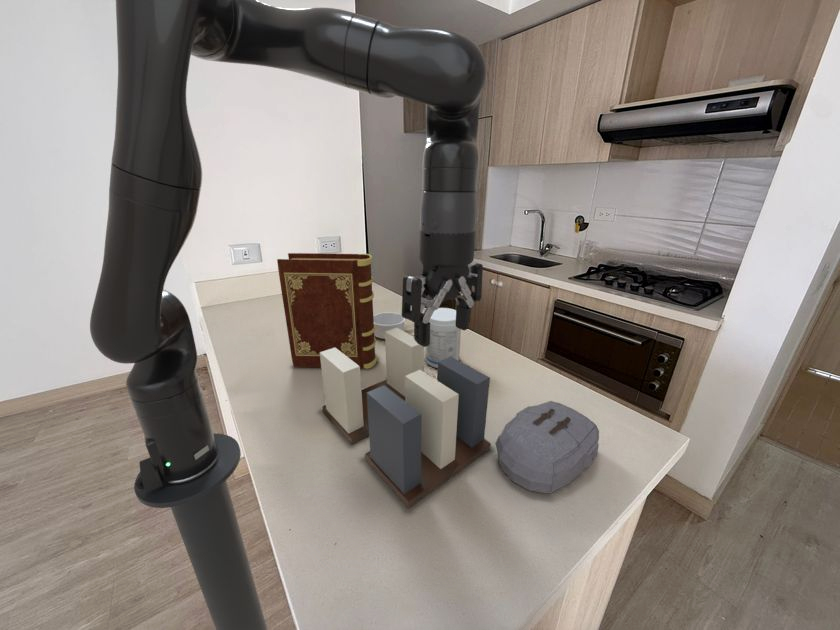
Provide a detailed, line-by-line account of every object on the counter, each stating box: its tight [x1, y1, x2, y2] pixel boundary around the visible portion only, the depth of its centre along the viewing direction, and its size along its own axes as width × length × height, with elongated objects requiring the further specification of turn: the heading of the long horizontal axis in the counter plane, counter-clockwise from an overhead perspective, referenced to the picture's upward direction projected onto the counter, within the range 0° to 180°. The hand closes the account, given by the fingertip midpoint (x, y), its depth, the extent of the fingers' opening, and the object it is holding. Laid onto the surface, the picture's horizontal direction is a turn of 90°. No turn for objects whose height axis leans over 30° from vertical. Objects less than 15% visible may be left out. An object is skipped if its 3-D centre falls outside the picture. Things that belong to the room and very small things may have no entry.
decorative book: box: [276, 252, 378, 370], centre depth 91 cm, size 22×8×30 cm, turn 89°
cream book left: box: [320, 348, 364, 434], centre depth 69 cm, size 4×10×14 cm, turn 40°
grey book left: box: [367, 385, 421, 494], centre depth 56 cm, size 4×10×14 cm, turn 40°
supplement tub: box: [425, 307, 462, 369], centre depth 94 cm, size 10×10×15 cm
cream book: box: [405, 370, 459, 469], centre depth 61 cm, size 4×10×14 cm, turn 40°
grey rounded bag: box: [494, 400, 600, 494], centre depth 62 cm, size 15×8×20 cm
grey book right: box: [436, 357, 491, 447], centre depth 66 cm, size 4×10×14 cm, turn 40°
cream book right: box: [384, 328, 425, 397], centre depth 79 cm, size 4×10×14 cm, turn 40°
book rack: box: [321, 378, 492, 509], centre depth 70 cm, size 20×31×2 cm, turn 40°
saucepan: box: [373, 311, 407, 340], centre depth 115 cm, size 12×20×6 cm, turn 133°
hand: (443, 336), depth 52 cm, fingers open, 8 cm apart
